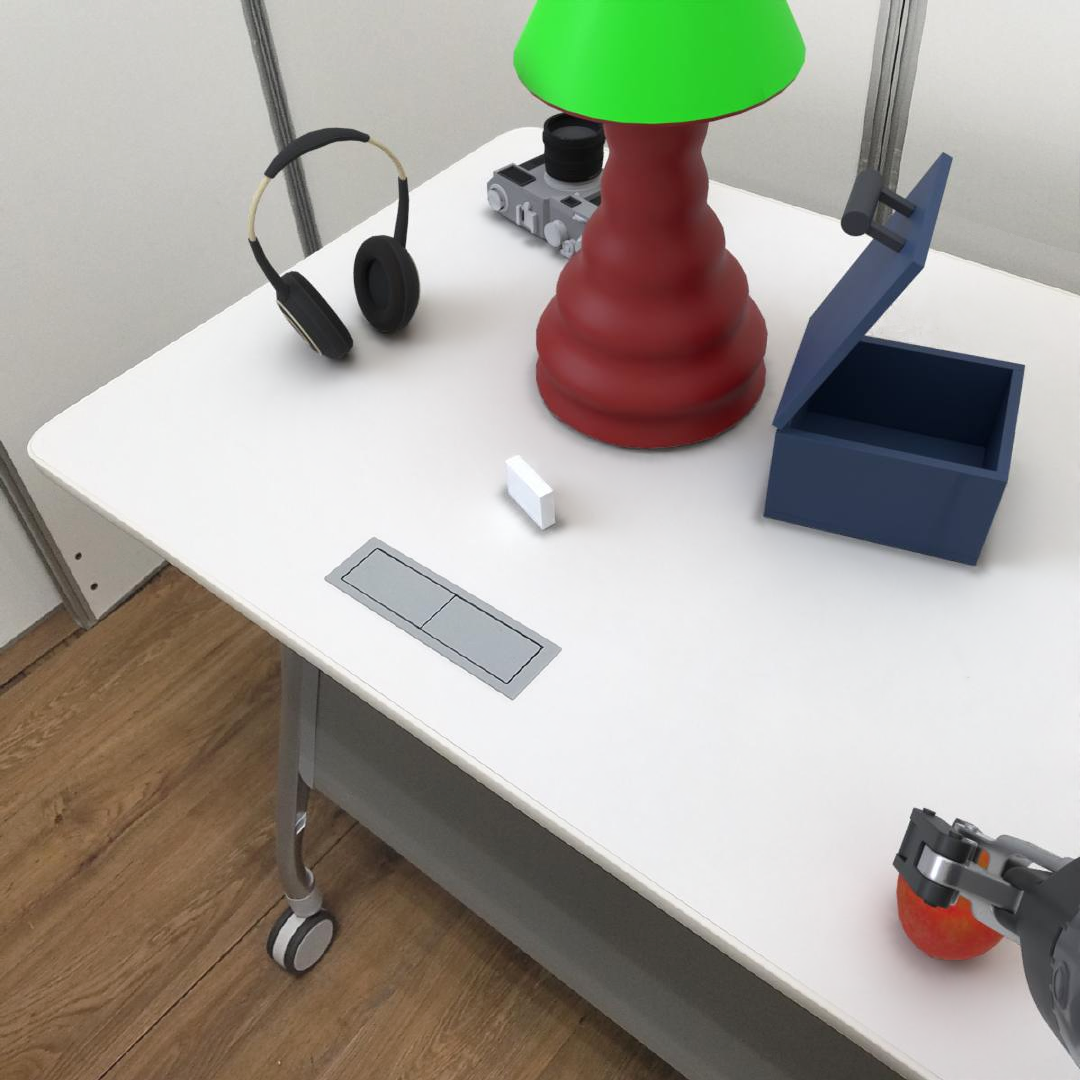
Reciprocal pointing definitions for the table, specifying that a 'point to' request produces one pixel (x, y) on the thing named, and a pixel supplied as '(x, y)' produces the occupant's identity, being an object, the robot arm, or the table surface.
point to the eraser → (530, 492)
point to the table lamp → (654, 213)
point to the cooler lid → (866, 277)
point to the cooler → (901, 449)
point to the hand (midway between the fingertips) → (1053, 883)
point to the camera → (554, 183)
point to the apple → (945, 925)
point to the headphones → (378, 266)
